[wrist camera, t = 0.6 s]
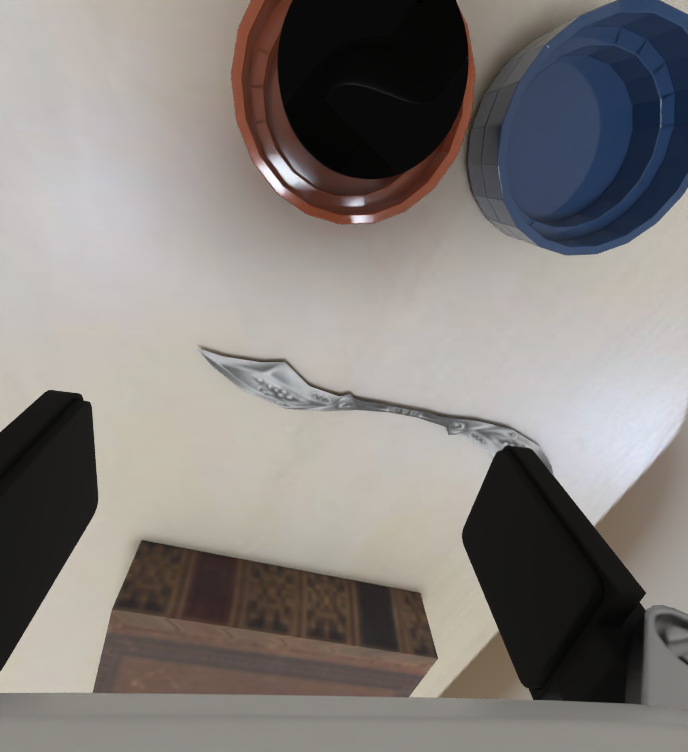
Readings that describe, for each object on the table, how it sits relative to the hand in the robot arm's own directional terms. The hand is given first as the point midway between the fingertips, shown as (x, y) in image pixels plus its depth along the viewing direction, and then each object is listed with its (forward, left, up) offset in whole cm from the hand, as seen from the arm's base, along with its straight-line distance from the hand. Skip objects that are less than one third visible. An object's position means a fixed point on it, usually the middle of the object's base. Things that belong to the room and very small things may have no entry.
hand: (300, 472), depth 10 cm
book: (+40, +5, -21) cm, 46 cm away
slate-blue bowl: (-12, +13, -21) cm, 27 cm away
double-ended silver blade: (+9, +10, -21) cm, 25 cm away
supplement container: (-10, 0, -21) cm, 23 cm away
